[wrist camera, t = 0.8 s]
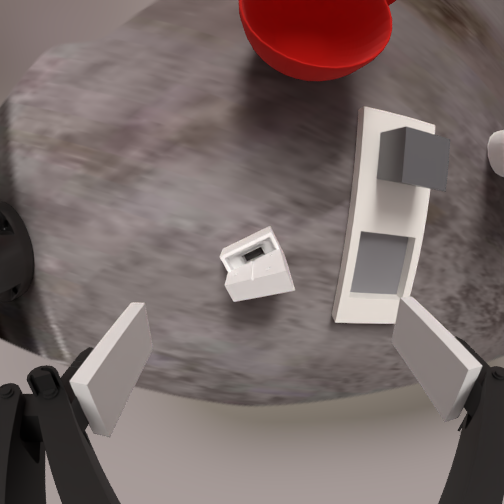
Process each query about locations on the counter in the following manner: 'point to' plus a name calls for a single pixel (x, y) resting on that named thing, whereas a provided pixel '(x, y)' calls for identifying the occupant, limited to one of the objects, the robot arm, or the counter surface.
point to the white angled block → (256, 267)
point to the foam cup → (496, 152)
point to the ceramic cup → (317, 34)
